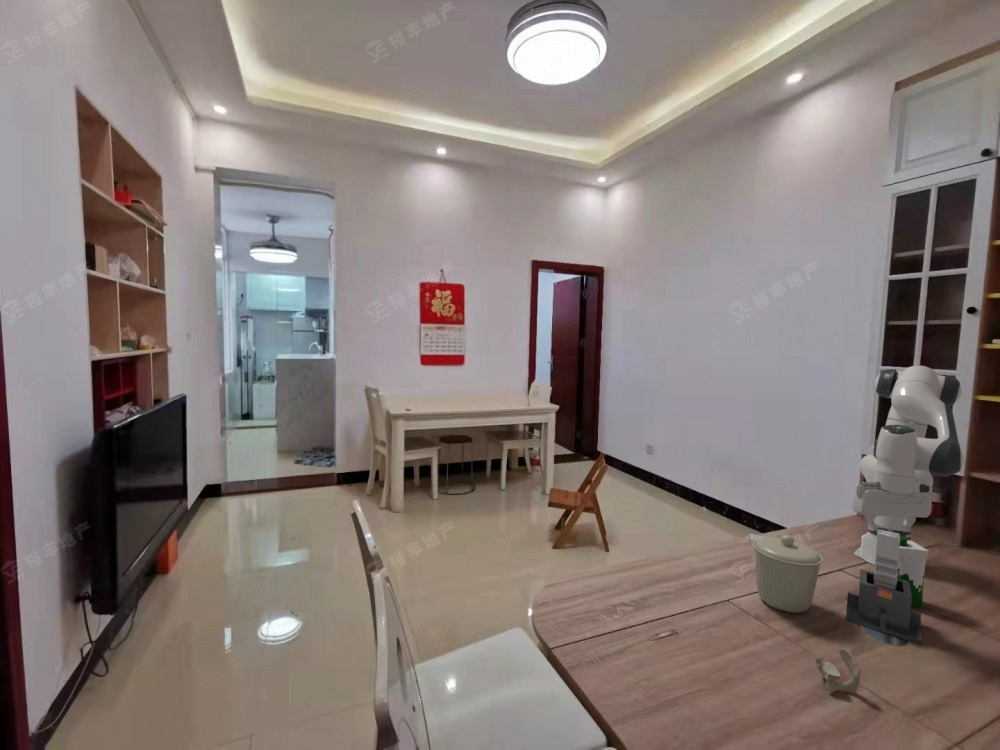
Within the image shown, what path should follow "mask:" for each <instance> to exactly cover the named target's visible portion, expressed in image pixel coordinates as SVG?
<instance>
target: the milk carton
mask: <svg viewBox="0 0 1000 750" xmlns="http://www.w3.org/2000/svg"><path fill="white" fill-rule="evenodd" d="M929 552H930V550H928V549H926V548H925V547H924V546H921V545H920V544H918V543H916V542H915V541H913V540H910V541H908V540H907V538H906V537H904V536H900V547H899V559H898V571H897V579H901V580H905V581H909V583H910V589H911V595H912V601H911V608H912V607H913V608H921V609H922V608H923V603H924V602H923V600H924V598H923V597H924V595H923V594H924V580H925V569H926V561H927V559H928V555H929Z"/></svg>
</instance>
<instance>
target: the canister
mask: <svg viewBox="0 0 1000 750" xmlns="http://www.w3.org/2000/svg"><path fill="white" fill-rule="evenodd" d="M751 545H752V548H753V549H754V558H755V559H754V561H755V563H754V564H755V576H756V577H755V578H756V588H757V592H758V595H759V597H760V599H761V600H762V601H763V602H764V603H766V605H768V606H770V607H773V608H774V609H777V610H779V611H782V612H786V613H793V614H800V613H805V612H806V611H808V609H810V607H811V605H812V603H813V599H814V594H815V590H816V585H817V582H818V581H817V580H818V576H819V572H820V568H821V564H823V563H824V557H823V556H822V555H821V553H820V552H818V551H816V550H815V549H814V548H812V547H811V546H809V545H807V544H805V543H802V542H800V541H797V540H795V538H794V537H793V536H791V535H789V534H782V535H781V536H780V537H779V536H778V537H777V536H763V537H760V538H757V539H755V540H752V543H751Z"/></svg>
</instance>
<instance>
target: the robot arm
mask: <svg viewBox="0 0 1000 750" xmlns="http://www.w3.org/2000/svg"><path fill="white" fill-rule="evenodd" d="M874 389H875V392H876V394H877V395H878V396H880V397H882V398H887V399H891V400H890V401H891V406H890V408H889V411H888V413H887V418H886V422H885V425H883V426H882V427H881V428H880V430H879V431H880V432H879V433H878V437H877V438H876V439H875V440H874V443H873V452H872V453H873V454H872V453H870V454H867V455H865V456H863V457H862V458H861V459H860V462H859V464H858V465H859V466H858V468H859V471H860V473H861V474H862V477H864V479H865V481H862V482H861V483H860V484H858V485H857V486H856V489H855V490H856V491H855V493H854V496H853V501H852V507H851V508H852V511H853V512H854V513H856V514H858V515H861V516H864V519H865V520H866V523H867V532H866V533H864V534H863V535H861V536H860V541H861V543H860V547H858V548H857V549H856V550H855V551H854V552H853V555H854V557H855V556H856V557H858V558H860V559H862V560H863V561H866V562H867V563H868V564H872V565H873V566H875V555H876V542H877V531H878V529H880V530H885V531H889V532H894V533H899V534H900V536H904V537H906V538H907V540H908V541H911V540H912V539H911V537H912V530H911V527H912V526H913V525H914V524H915V522H916V519H917V518H925V519H926V518H929V516H931V512H932V502H933V501H932V500H933V498H932V496H931V494H932V493H933V485H934V479H933V475H936V476H941V477H944V478H945V477H946V478H947V477H950V476H952V475H956V474H957V473H959V472H961V470H962V469H963V465H964V459H965V458H964V454H963V450H962V448H961V446H960V442H959V438H958V437H959V436H958V433H957V426H956V422H955V421H956V420H955V416H954V413H953V410H952V408H951V406H953V405H955V403H956V402H957V401H958V400H959V399H960V397H961V396H962V392H963V391H962V386H961V381H959V379H958V378H956V377H953V376H949V375H942V374H937V373H936V371H935V370H934V369H932V368H930V367H928V366H926V365H912V366H908V367H907V368H904V369H903V370H899V369H898V370H897V369H896V368H895V369H894V368H891V369H890V368H888V369H884V370H882V371H880V373H879V374H878V375H877V376H876V378H875V381H874ZM929 425H930V426H931V427H934V429H936V432H937V438H928V437H926V433H927V429H928V426H929Z"/></svg>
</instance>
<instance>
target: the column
mask: <svg viewBox="0 0 1000 750" xmlns="http://www.w3.org/2000/svg"><path fill="white" fill-rule="evenodd" d="M899 547H900V534H899V533H894V532H889V531H885V530H880V529H878V531H877V542H876V555H875V565H874V569H873V572H874V580H873V584H874V585H878V586H881V587H885V588H889V589H892V590H896V584H897V571H898V559H899Z"/></svg>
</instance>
